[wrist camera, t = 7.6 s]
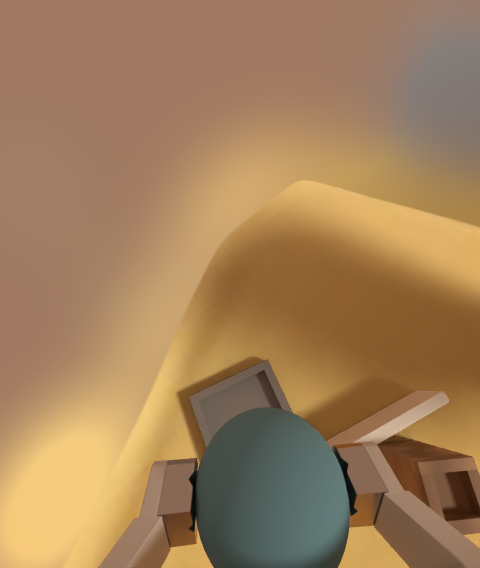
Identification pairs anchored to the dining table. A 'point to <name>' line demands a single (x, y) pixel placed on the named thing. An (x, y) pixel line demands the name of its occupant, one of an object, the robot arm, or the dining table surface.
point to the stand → (438, 480)
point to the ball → (271, 494)
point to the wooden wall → (392, 418)
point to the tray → (237, 398)
